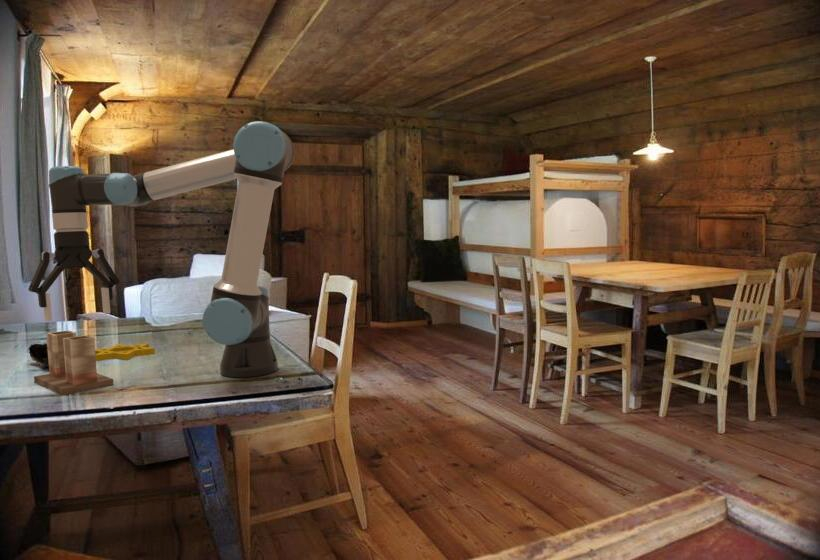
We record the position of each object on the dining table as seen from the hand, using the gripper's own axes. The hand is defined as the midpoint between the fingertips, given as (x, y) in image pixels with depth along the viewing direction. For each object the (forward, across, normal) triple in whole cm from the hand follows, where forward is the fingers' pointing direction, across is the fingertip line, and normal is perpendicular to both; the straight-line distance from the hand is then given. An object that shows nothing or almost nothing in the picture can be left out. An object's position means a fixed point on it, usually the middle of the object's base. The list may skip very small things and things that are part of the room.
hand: (78, 316), depth 157 cm
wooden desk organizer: (+18, 0, -6) cm, 19 cm away
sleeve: (+16, 0, 0) cm, 16 cm away
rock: (+18, -7, -34) cm, 39 cm away
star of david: (+18, -23, -33) cm, 45 cm away
